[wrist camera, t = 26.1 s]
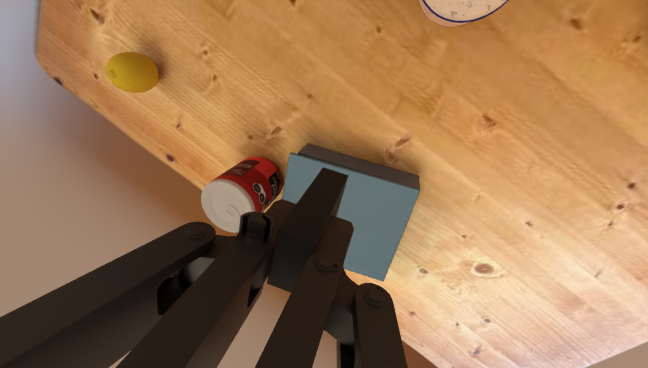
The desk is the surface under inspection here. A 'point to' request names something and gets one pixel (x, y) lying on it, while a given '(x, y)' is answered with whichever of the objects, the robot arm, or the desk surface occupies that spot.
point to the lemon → (132, 72)
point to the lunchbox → (360, 165)
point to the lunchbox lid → (360, 212)
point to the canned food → (241, 192)
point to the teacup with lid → (458, 10)
